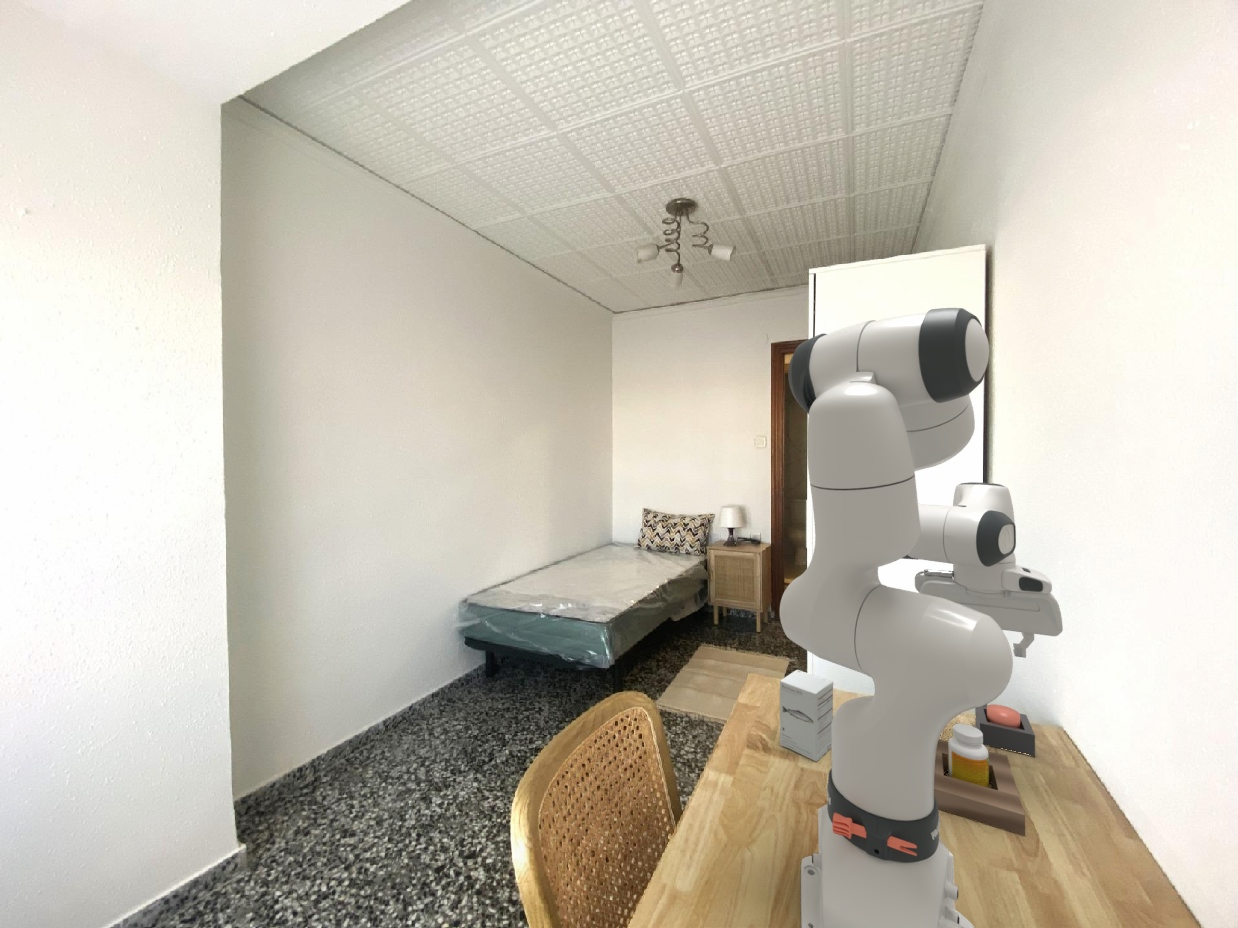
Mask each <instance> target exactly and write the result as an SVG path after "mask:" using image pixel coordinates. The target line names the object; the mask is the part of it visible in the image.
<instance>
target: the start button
mask: <svg viewBox="0 0 1238 928" xmlns="http://www.w3.org/2000/svg"><path fill="white" fill-rule="evenodd" d="M986 707H987V722H990V723H995V724H999V725H1004V726H1009V727H1013V728H1018V729H1020V714H1021V713H1020V712H1019V711H1017V710H1015V708H1011V707H1009V706H1005V705H1002V704H993V703H992V704H987V706H986ZM1019 713H1020V714H1019Z"/></svg>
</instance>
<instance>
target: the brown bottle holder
mask: <svg viewBox="0 0 1238 928" xmlns="http://www.w3.org/2000/svg"><path fill="white" fill-rule="evenodd" d="M948 741H949V740H944V739H940V738H939V740H938V743H937V749H936V758H935V772H934V796H935V798H936V800H937V803H938V811H942V812H947V813H950V814H952V815H956V816H960V817H962V818H966V819H968V820H969V819H970V820H972V821H975V822H979V823H982V824H985V825H988V826H992V827H995V828H998V829H1002V830H1005V831H1007V832H1011V833H1013V834H1014V833H1015V834H1017V835H1020V836H1024V837H1026V814H1025V810H1024V808H1023V804H1022V800H1021V797H1020V793H1019V791H1018V788H1017V785H1016V780H1015V778H1014V775H1013V770H1012V768H1011V765H1010V762H1009V758H1008V755H1005V754H1001V753H996V752H992V751H990V750H988V756H989V784H992V787H993V788H991V787H989V788H987V787H984V786H980V785H977V784H973V783H969V782H966V781H962V780H958V779H955V778H951V777H948V776H947V775H944V772H948Z"/></svg>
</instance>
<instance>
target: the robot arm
mask: <svg viewBox="0 0 1238 928" xmlns="http://www.w3.org/2000/svg"><path fill="white" fill-rule="evenodd" d="M989 358H990V344H989V340H988V336H987V334H986V332H985V330H984V329H983V326H982V323H981V321H980V319H979V318H978V317H977V316H976V315H975V314H973V313H972V312H970V311H968V310H967V309H965V308H962V307H942V308H941V307H940V308H931V309H929V310H928V311H927V312H924V313H923V312H922V313H915V314H906V315H899V316H893V317H888V318H883V319H878V320H874V319H872V320H868V321H864V322H860V323H855V324H852V325H849V326H847V327H843V328H841V329H837V330H834V331H833V332H830V333H820V334H818V335H816V336H813V337H810V338H808V339H807V340H804V341H803V342H801V343H800V344H798V346H797V347H796V348H795V350H794V352H793V354H792V356H791V358H790V359H789V364H788V372H787V373H788V374H787V376H788V378H787V379H788V384H789V388H790V391H791V394H792V395H793V398H794V399H795V401H796V402H797V404H799V406H800V407H801V408H802V409H803V410H804V411H805V412H806V413H807V414H808V420H807V421H808V422H807V435H806V437H807V438H806V439H807V440H806V441H807V442H806V445H807V447H806V448H807V450H806V451H807V454H806V457H807V467H808V475H809V476H808V478H809V486H810V492H811V493H810V494H811V501H812V509H813V519H814V521H813V522H814V535H815V536H814V539H815V540H814V549H813V553H812V556H811V557H812V558H811V561H810V563H809V564H808V566H807V568H806V569H805V570H804V572H803V573H802V574H800V575H799V576H797V577H796V578H795V579H793V580H792V581H791V582H790V583H789V584H788V586H787V587H786V588H785V590H784V592H783V594H782V596H781V600H780V602H779V620H780V623H781V627H782V630H783V632H784V634H785V636H786V637H787V638H788V639H789V640H790V641H791V642H793V643H794V644H796V645H798V647H799V646H800V647H801V648H802V649H803V650H805V651H807V652H809V653H811V654H813V655H814V656H815V657H818V658H820V659H822V660H823V661H824V660H825V661H828V662H831V663H833V664H836V665H838V666H842V667H845V668H847V669H850V670H852V671H855V672H857V673H861V674H863V675H866V676H867V677H869V678H871V679H872V681H873V685H874V694H873V695H866V696H860V697H859V696H858V697H854V698H851V699H848V700H847V701H845V702H843V703H841V705H840V706H838V708H837V709H836V711H835V713H833V719H832V722H831V748H830V750H831V768H830V769H829V771H828V776H827V777H828V779H827V783H826V798H827V803H826V804H824V805H822V806H821V807H820V808H818V809H817V813H818V815H817V823H818V827H817V829H818V853H815V852H813V853H812V855H809V856H805V857H803V858H802V859H801V862H800V928H975V926H974V925H973V924H972V922H971V921H970V920H968V919H967V918H966V917H965V916H964V915H963V914H962V913H961V912H960V911H958V910H957V909H956V903H955V901H956V902H958V901H959V900H958V899H959V886H957V885H956V884H955V867H954V864H955V863H954V855H953V854H952V852H951V851H950V850H949V849H948V847H947V846H946V845H945V844H944V843H943V841H942V840H941V838H940V829H941V817H940V810H939V809H938V803H937V800H936V798H935V796H934V772H935V758H936V749H937V743H938V740H939V739H940V737H941V734H942V733H943V731H944V729H945V728H946V727H947V726H948V725H949V723H950V722H952V721H953V719H955V718H957V716H959V715H961V714H963V713H964V712H965V713H966V712H967V711H970V710H973V709H975V708H978V707H981V706H986V705H989V704H990V703H992V702H994V701H995V700H996V699H997V698H999V696H1001V695H1002V693H1003V692H1004V691H1005V690H1006V688H1007V687H1008V684H1009V683H1010V680H1011V678H1012V673H1013V668H1014V667H1013V666H1014V661H1013V660H1014V659H1013V655H1014V657H1017V658H1018V657H1019V658H1024V659H1026V658H1027V649H1028V648H1029V647H1030V645H1032V643H1033V642H1034V641H1035V635H1043V636H1049V637H1058V636H1059V635H1060V634H1061V633H1063V631H1064V630H1063V618H1062V613H1061V608H1060V605H1059V602H1058V600H1057V599H1056V598H1055V596H1054V594H1052V591H1053V585H1052V582H1051V580H1050V578H1048V576H1046V574H1043V572H1041V571H1038V570H1034V569H1032V568H1031V569H1030V568H1029V567H1024V566H1022V565H1018V564H1016V563H1017V560H1016V555H1015V549H1016V545H1017V537H1016V536H1017V533H1016V532H1017V529H1016V523H1015V521H1016V520H1015V512H1014V506H1013V501H1012V497H1011V496H1012V495H1011V492H1010V490H1009V488H1008V487H1006V486H1004V485H1003V484H1000V483H993V482H991V483H990V482H989V483H988V482H974V481H973V482H972V481H971V482H962V483H959V484H956V486H955V489H954V493H953V501H952V505H939V504H938V505H937V504H923V503H919V500H918V493H917V482H916V481H917V480H916V474H915V473H916V472H917V471H920V470H925V469H930V468H933V467H937V466H939V465H942V464H944V463H946V462H947V461H949V460H951V459H952V458H954V457H955V456H957V455H958V454H960V453H961V452H962V451H963V450H964V449H965V447H966V446H967V445H968V444H969V443H970V441H971V439H972V437H973V435H974V432H975V427H976V426H975V423H976V421H975V413H974V412H975V411H974V407H973V403H972V399H971V396H970V394H971V393H972V392H973V391H974V390H976V389H977V387H979V385H980V384H982V382H983V380H984V378H985V375H986V370H987V367H988V363H989ZM903 559H904V560H917V561H918V560H922V561H927V562H928V561H930V562H938V563H945V564H951V565H952V569H953V570H934V569H928V568H927V569H923V571H918V572H917V573H916V575H914V587H915V590H916V591H917V592H915V591H911V590H906V589H900V588H896V587H891V586H887V585H885V584H882V582H881V581H880V579H879V567H882V566H883V567H884V566H885V565H886V566H887V565H888V564H892V563H895V562H897V561H899V560H903ZM1004 631H1008V632H1014V633H1015V632H1017V633H1021V635H1022V637H1023V638H1022V640H1020V642H1019V643H1015V642H1013V645H1012V646H1013V653H1012V647H1011V646H1010V643H1009V640H1008V638H1007V636H1006V635H1005V633H1004Z"/></svg>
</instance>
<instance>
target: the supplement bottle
mask: <svg viewBox="0 0 1238 928" xmlns="http://www.w3.org/2000/svg"><path fill="white" fill-rule="evenodd" d="M952 735H953V736H951V737H950V738H949V739H948V740H947V741H948V771H947V773H948V777H951V778H955V779H958V780H962V781H966V782H969V783H973V784H977V785H980V786H984V787H987V788H990V783H989V756H988V751H989V750H988V748H987V746H986V745H983V733H982V732H981V731H980V730H979V729H977V728H976V726H972V725H969V724H964V723H955V724H953V726H952Z"/></svg>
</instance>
